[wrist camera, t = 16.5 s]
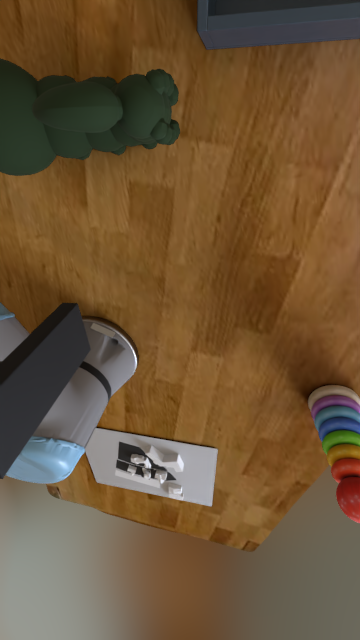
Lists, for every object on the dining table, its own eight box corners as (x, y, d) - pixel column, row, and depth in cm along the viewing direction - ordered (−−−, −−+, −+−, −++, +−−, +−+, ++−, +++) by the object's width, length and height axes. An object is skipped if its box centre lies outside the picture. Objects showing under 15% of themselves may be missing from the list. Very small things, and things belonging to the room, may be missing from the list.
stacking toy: (344, 375, 45) (392, 501, 30) (366, 404, 48) (422, 534, 32) (298, 392, 49) (320, 511, 34) (321, 418, 52) (351, 539, 36)
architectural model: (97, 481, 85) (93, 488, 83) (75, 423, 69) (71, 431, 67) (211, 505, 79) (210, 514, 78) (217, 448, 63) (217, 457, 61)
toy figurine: (184, 58, 29) (-37, 75, 31) (147, -25, 13) (-285, 23, 16) (187, 163, 34) (-3, 170, 37) (162, 192, 18) (-164, 201, 21)
